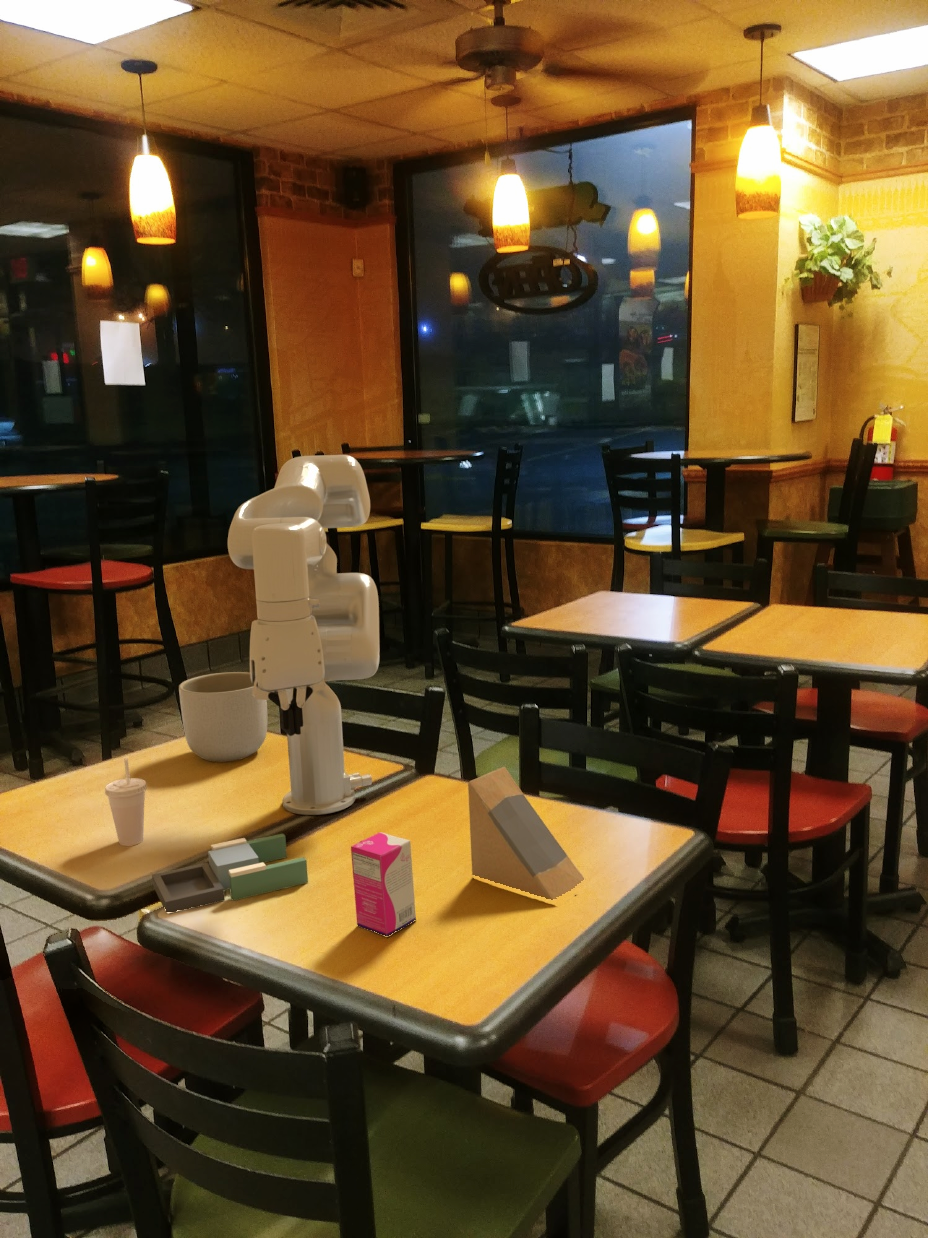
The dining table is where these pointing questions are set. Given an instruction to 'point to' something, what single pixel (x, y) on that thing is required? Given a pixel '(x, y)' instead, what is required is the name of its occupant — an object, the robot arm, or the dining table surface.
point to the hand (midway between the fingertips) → (292, 732)
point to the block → (230, 861)
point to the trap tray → (188, 887)
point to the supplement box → (383, 883)
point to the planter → (222, 716)
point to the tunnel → (265, 868)
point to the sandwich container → (515, 840)
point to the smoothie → (127, 807)
